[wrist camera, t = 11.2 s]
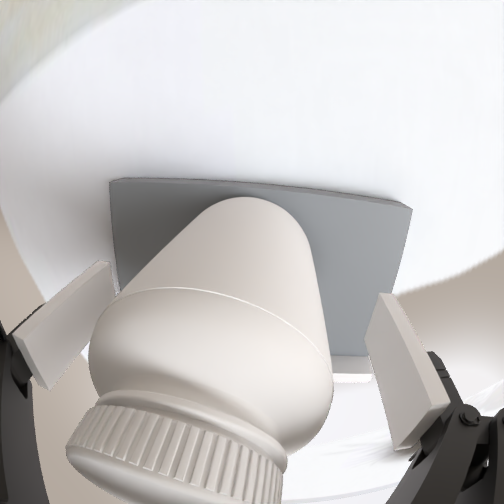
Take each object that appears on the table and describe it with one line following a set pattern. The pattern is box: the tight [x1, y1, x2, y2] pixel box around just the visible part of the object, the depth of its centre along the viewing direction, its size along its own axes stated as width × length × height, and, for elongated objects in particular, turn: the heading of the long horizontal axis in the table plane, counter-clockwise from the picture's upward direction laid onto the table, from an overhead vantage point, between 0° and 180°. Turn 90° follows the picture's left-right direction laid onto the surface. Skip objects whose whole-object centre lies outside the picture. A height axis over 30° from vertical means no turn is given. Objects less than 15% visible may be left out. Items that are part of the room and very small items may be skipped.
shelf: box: [109, 178, 413, 382], centre depth 19 cm, size 14×20×4 cm
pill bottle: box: [66, 197, 334, 504], centre depth 11 cm, size 8×8×15 cm
